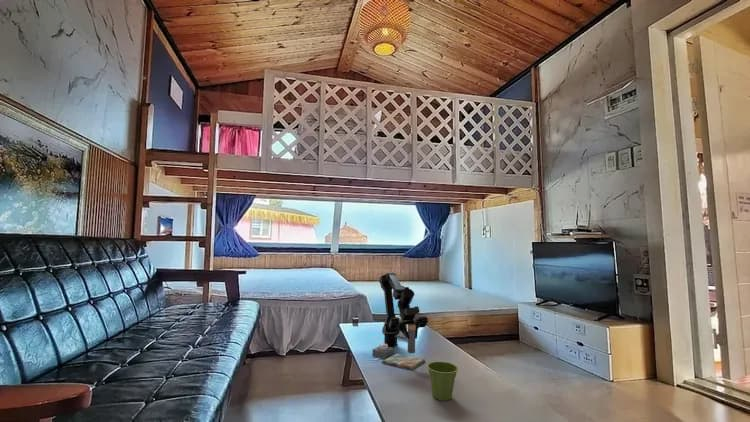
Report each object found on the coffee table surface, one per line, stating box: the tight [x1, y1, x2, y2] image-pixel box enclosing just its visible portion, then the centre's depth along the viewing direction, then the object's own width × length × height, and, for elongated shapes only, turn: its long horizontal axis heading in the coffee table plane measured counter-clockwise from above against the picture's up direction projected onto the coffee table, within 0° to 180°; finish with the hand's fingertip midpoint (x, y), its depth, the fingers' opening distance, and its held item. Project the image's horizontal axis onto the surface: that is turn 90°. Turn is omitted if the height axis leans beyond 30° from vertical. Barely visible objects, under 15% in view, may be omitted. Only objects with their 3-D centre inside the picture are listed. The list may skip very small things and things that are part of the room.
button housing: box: [372, 346, 395, 359], centre depth 187 cm, size 8×8×3 cm
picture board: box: [381, 353, 426, 371], centre depth 176 cm, size 16×14×1 cm
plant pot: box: [426, 361, 459, 402], centre depth 139 cm, size 12×12×11 cm
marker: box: [407, 324, 416, 354], centre depth 172 cm, size 4×4×12 cm
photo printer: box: [395, 314, 408, 339], centre depth 223 cm, size 10×4×12 cm, turn 39°
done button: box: [378, 343, 388, 351], centre depth 187 cm, size 4×4×3 cm
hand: (412, 338), depth 171 cm, fingers closed on marker, 4 cm apart
